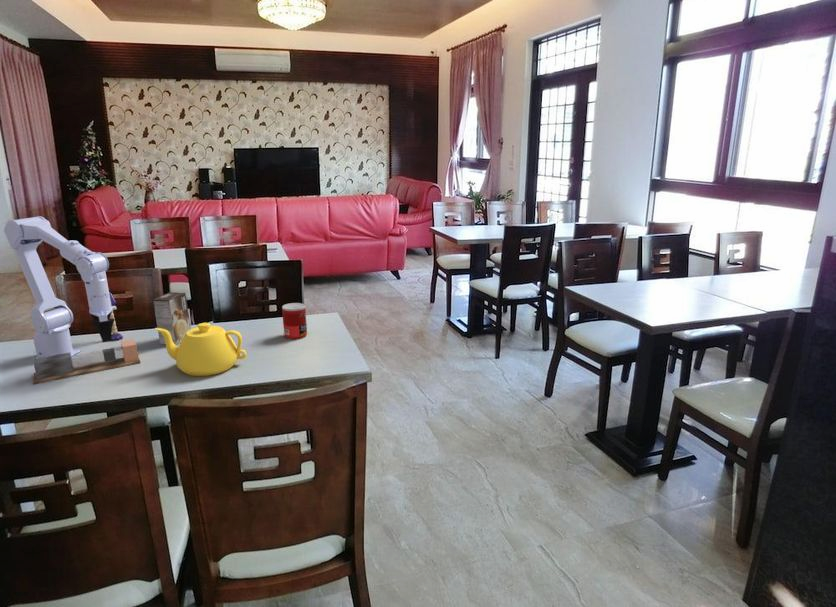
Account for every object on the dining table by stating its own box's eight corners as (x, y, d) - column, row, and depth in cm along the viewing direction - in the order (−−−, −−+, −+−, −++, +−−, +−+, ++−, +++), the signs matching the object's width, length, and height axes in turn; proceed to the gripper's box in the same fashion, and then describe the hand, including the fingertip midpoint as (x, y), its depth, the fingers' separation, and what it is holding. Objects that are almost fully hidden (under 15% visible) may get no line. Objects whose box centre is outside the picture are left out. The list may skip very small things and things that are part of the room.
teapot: (153, 381, 155) (145, 337, 151) (169, 358, 172) (163, 317, 168) (243, 375, 159) (238, 331, 155) (251, 353, 176) (247, 312, 172)
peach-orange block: (125, 362, 167) (122, 347, 165) (123, 357, 171) (120, 341, 170) (138, 360, 169) (136, 344, 167) (136, 354, 173) (134, 339, 172)
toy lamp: (112, 342, 185) (103, 295, 180) (104, 340, 187) (95, 293, 183) (125, 338, 189) (117, 292, 184) (117, 335, 191) (109, 290, 187)
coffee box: (176, 335, 192) (169, 291, 187) (192, 336, 190) (186, 292, 186) (159, 344, 183) (152, 299, 178) (176, 345, 182) (169, 300, 177)
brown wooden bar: (33, 384, 154) (29, 366, 152) (34, 374, 160) (30, 357, 159) (140, 363, 168) (137, 346, 166) (137, 354, 174) (134, 339, 173)
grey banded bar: (62, 369, 159) (60, 360, 158) (61, 366, 161) (60, 357, 160) (134, 356, 169) (132, 347, 168) (132, 353, 171) (131, 344, 170)
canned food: (304, 339, 187) (302, 309, 184) (281, 339, 187) (279, 309, 184) (309, 332, 194) (307, 302, 191) (287, 332, 194) (284, 302, 191)
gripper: (115, 298, 157) (123, 342, 161) (111, 287, 169) (118, 328, 173) (87, 302, 153) (96, 347, 157) (85, 290, 165) (93, 332, 169)
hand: (106, 337), depth 165 cm, fingers open, 7 cm apart
